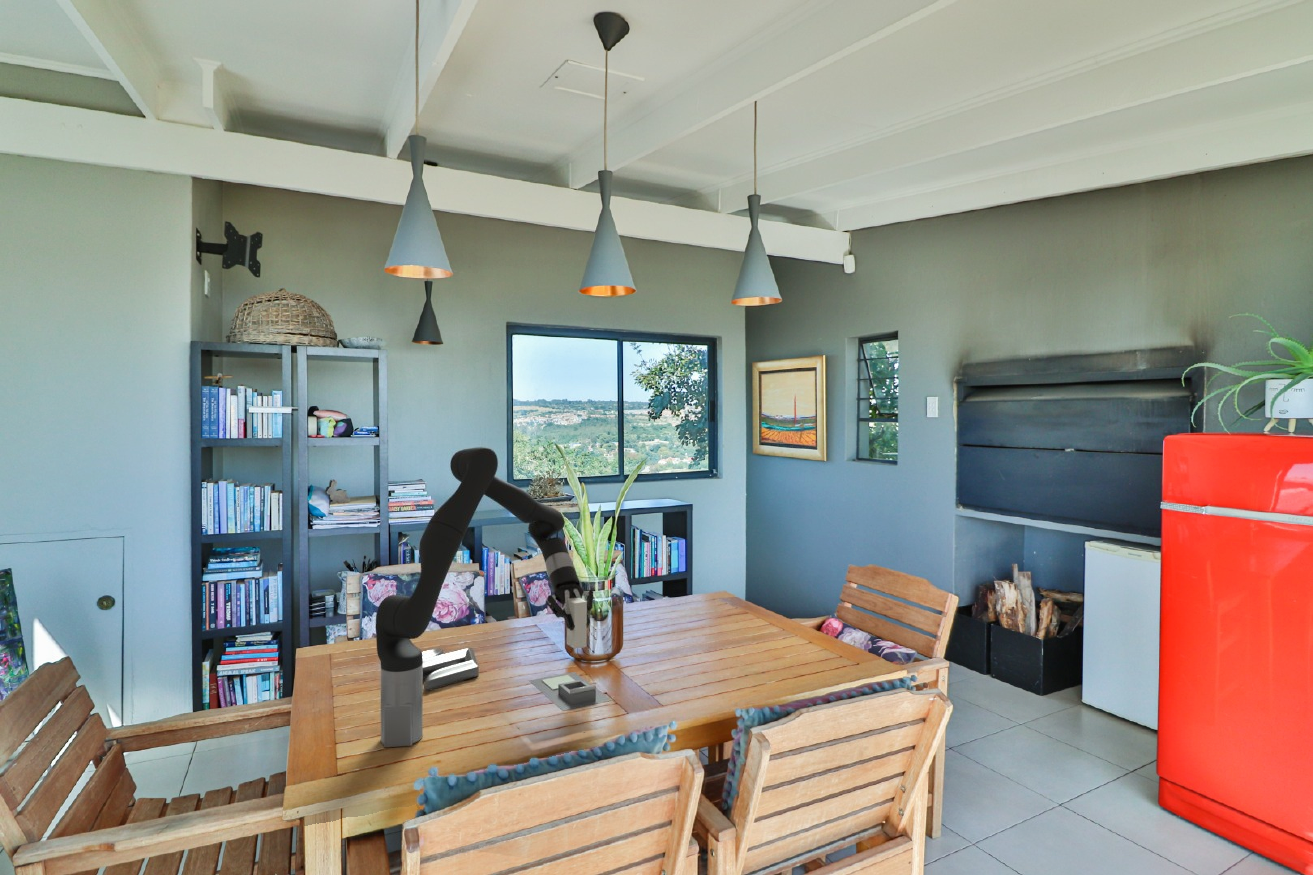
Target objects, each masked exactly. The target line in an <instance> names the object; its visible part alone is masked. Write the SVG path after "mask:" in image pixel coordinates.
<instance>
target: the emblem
mask: <svg viewBox="0 0 1313 875" xmlns="http://www.w3.org/2000/svg"><path fill="white" fill-rule="evenodd" d="M421 652H422V654H423V682H424V683H423V690H426V691H429V692H430V691H432V690H433V691H434V690H435V689H439V688H442V687H445V686H449V685H452V684H456V683H459V682H463V681H466V680H469V679H473V678H475V677H479V674H480V673H479V670H480V669H479V664H478V661H477V658H476V655H475V651H474V648H473V647H466V648H463V649H458V650H454V651H448V652H446V653H444V649H442V648H432V649H428V650H424V651H421Z"/></svg>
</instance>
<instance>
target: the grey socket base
mask: <svg viewBox="0 0 1313 875" xmlns="http://www.w3.org/2000/svg"><path fill="white" fill-rule="evenodd" d="M528 682H529V683H531V684H532V685H533V686H534V687H536V689H537V690H538V691H540V692H541V693H542V694H543V695H544V696H545V697H546V698H548V700H550V701H551V702H552V703H553V704H554V705H556V707H557V708H559V710H561V711H562V712H566V711H569V710H570V711H571V710H574V709H578V708H583V707H584V708H585V707H588V706H593V705H597V704H601V703H607V702H611V701H613V699H612V698H610V697H609V696H607V695H606V694H605V693H604V692H602V691H600V690H599V689H598V688H597V685H596V684H592V683H590V682H589V681H587V679H585V678H583V676H581V675H580V674H578V673H577V672H575V671H572V672H568V673H563V674H562V673H561V674H556V675H552V676H546V677H542V678H541V677H540V678H535V679H530V680H529V681H528Z"/></svg>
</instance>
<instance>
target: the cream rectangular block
mask: <svg viewBox="0 0 1313 875" xmlns="http://www.w3.org/2000/svg"><path fill="white" fill-rule="evenodd" d="M567 600H568V601H567V602H568V603H569V609H570V614H571V616H572V619H573V622H574V625H575V628H574V629H573V630H572V631H570V629H568V628H567V627H566V645H568V646H569V647H570V648H572V649H582V648H587V641H588V640H587V639H588V638H587V635H588V634H587V631H588V630H587V629H588V628H587V626H586V623H587V601H586V600H585V599H584V598H582V599H581V598H571V599H567Z"/></svg>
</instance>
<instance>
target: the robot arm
mask: <svg viewBox="0 0 1313 875" xmlns="http://www.w3.org/2000/svg"><path fill="white" fill-rule="evenodd" d="M449 467H450V472H451V473H452V476H453V477H454V479H456V480H457V481H458V482H460V484H459V486H458V487H457V489H456V490H455V492H454V493H452V495H450V497H449V498H448V499H447V500H446V501H445V502H444V503H443V504H442V505H441V506H440V507H439V508H438V509H437V510H436V512H435V513H433V514H432V516H431V518H430V519H429V521H428V523H427V525H426V527H425V528H424V529H425V530H424V532H423V533H422V536H421V538H420V541H419V547H418V548H419V551H418V552H419V559H420V560H419V562H420V575H419V578H418V581H417V584H416V585H415V587H414V590H413V593H412V594H411V596H408V595H407V596H406V595H399V594H391V595H388V596H386V597H385V598H383V600H381V601H380V603H379V605H378V608H377V610H376V614H375V639H376V653H377V657H378V659H379V661H380V742H381V744H383V748H393V747H394V748H396V747H412V746H413V744H414V743H417V742H418V741H420V740H421V739H422V738H423V734H424V733H423V731H424V730H423V728H424V727H423V726H424V724H423V723H424V722H423V721H424V719H423V717H424V716H423V710H424V709H423V702H424V700H423V696H424V695H423V693H424V692H423V690H424V683H423V682H424V681H423V654H422V652H423V651H422V650H421V649H420V648H418V647H417V646H416V645H415V644H414V643H413V642H412V640H415V639H418V638H419V637H422V635H423V634H424V633H425V632H426V630H427V628H428V626H429V624H430V622H431V620H432V617H433V614H434V611H435V608H436V606H437V602H438V599H439V597H440V594H441V590H442V587H443V584H444V583H445V580H446V578H447V574H448V573H449V570H450V567H451V565H452V563H453V562H454V558H455V557H456V555H457V553H458V551H459V548H460V546H461V545H462V542H463V540H464V537H465V534H466V533H467V530H468V528H469V526H470V523H471V521H472V519H473V517H474V515H475V513H476V511H477V508H478V507H479V504H480V503H481V501H482V499H483V497H484V495H485V496H486V497H487V498H489V499H491V501H493V502H495V503H497V504H498V505H500V506H501V507H503V508H504V509H505V510H507V511H508V512H509V513H510V514H512V515H513V516H514V517H516V519H517V520H519V521H520V522H522V523H524V524H528V528H527V529H528V533H529V535H530V537H531V538H532V539H533V540H534V542H535V543H536V545H537V546H538V548H539V549H540V551H541V554H542V557H543V560H544V563H545V569H546V572H547V573H546V574H547V576H548V579H549V582H550V586H551V588H552V591H553V594H552V595H551V594H549V595H548V596H547V598H546V599H545V603H546V605H547V606H548V608H549V609H550V610H551V611H552V613H553V614H554V615H555V616H556V618H557V619H559V618H563V619H564V621H565V625H566V629H567V628H568V629H570V631H572V630H573V629H574V628H575V625H574V622H573V619H572V616H571V614H570V609H569V603H568V602H567V601H568V600H567V599H571V598H581V599H584V600H585V601H587V623H586V626H587V629H588V627H589V626H590V623H591V620H590V617H589V614H591V611H592V609H593V606H594V604H593V603H594V591H593V590H592V589H590V590H589V591H588V590H584V589H583V587H582V586H581V584H580V579H579V576H578V573H577V571H576V568H575V564H574V562H573V559H572V558H571V555H570V553H569V550H568V547H567V545H566V542H565V540H564V539H563V538H562V537H557V536H555V535H556V534H558V533H559V532H561V531H562V530H563V529H564V527H565V524H566V522H565V518H564V516H563V514H562V513H561V512H560V511H559V510H557V509H556V508H554V507H551V506H549V505H547V504H544V503H542V502H539V501H537V500H536V499H534V498H533V497H532V496H531V495H530V494H529V493H528V492H526V491H525V490H523V489H522V488H521V487H518V486H516V485H514V484H512V483H510V482H507V481H505V480H503V479H502V478H501V479H500V478H499V477H497V476H496V474H497V472H498V468H499V460H498V456H497V454H496V451H494V450H493V449H492V448H490V447H486V446H478V447H477V446H476V447H471V448H465V449H464V448H463V449H461V450H458V451H457V452H455V453H454V454H453V455H452V457H451V460H450V464H449ZM553 536H555V537H553ZM583 597H584V598H583ZM559 604H561V606H560V605H559Z"/></svg>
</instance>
